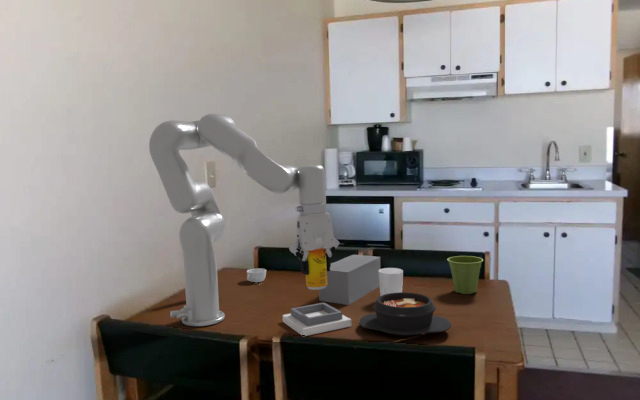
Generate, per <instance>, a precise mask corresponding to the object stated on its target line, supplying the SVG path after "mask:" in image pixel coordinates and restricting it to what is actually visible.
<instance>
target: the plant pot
mask: <svg viewBox="0 0 640 400" xmlns="http://www.w3.org/2000/svg"><path fill="white" fill-rule="evenodd" d="M446 260H447V262H448V264H449V265H448V266H449V268H450V271H451V277H452V284H453V289H454V292H455V293H460V294H462V295H472V294H474V293H477V291H478V285H479V277H480V272H481V271H480V270H481V268H482V264H483V262H484V259H483V258H482V257H479V256H473V255H458V256H457V255H456V256H450V257H448V258H447V259H446Z"/></svg>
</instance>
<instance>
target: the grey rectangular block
mask: <svg viewBox="0 0 640 400" xmlns="http://www.w3.org/2000/svg"><path fill="white" fill-rule="evenodd" d="M381 266H382V265H381V256H374V255H372V256H371V255H363V254H351V255H349V256H347V257H346V256H345V257H344V258H342V259H339V260H336V261H334V262H331V267H330V271H327V285H326V287H325V288H324V289H320V290H318V301H319V302H324V303H326V302H327V303H332V304H339V305H347V306H350V305H351V304H353V303H355V302H357V301H358V300H360V299H361V298H363V297H365V296H366V295H368V294H369V293H371V292H372V291H374V290H376V289H379V288H380V287H379V272H378V271H379V270H380V269H382V268H381Z"/></svg>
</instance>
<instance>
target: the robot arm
mask: <svg viewBox="0 0 640 400" xmlns="http://www.w3.org/2000/svg"><path fill="white" fill-rule="evenodd" d="M148 142H149V143H148V148H149V154H150V157H151V161H152V162H153V164H154V167H155V169H156V171H157V173H158V175H159V178H160V182H161V184H162V186H163V188H164V190H165V192H166V193H165V194H166V195H167V198H168V200H169V203H170V204H171V207H172V208H173V209H174V211H175V212H176V213H180V214H189V213H190V215H191V216H190V217H189V218H187V219H186V220H184V221H183V223H182V224H181V226H180V228H179V233H178V236H179V243H180V245H181V246H180V247H181V250H182V257H183V258H182V259H183V270H184V287H185V291H184V292H185V301H186V302H185V303H186V304H185V305H183V307H182V308H180V309H179V310H175V309H174V310H170V312H169V313H170V314H169V315H170V318H172V319H173V318H176V319H181V323H182V324H184V326H185V325H186V326H188V327H205V326H212V325H214V324H218V323H221V322H222V321H223V320H224V319H225V317H226V316H225V313H224V312H223V311H222V310H220V302H219V281H218V265H217V256H216V251H215V247H214V243H215V242H218V241H220V239H222V238H223V237H224V235H225V233H226V229H227V228H226V227H227V226H226V221H225V218H224V215H223V213H222V210H221V208H220V206H219V205H220V204H219V202H218V200H217V197H216V196H215V193H214V192H213V189H212V188H211V187H210V185H209V184H208V183H206V182H205V181H203V180H199V179H194V178H193V177H192V174H191V172H190V169H189V166H188V164H187V162H186V161H185V160H184V159H183V157H182V156H181V154H180V150H181V151H185V150H188V151H189V150H196V149H197V150H198V149H203V148H207V147H212V148H214V149H216V150H217V151H218V152H220V153H222V154H223V155H224V156H226V157H227V158H228V159H230V160H231V161H233V162H234V163H235V164H236V165H238V167H239V169H241V170H242V171H243V172H244V173H245V175H247V176H248V177H249V178H251V179H252V180H253V181H255V183H257V184H259V185H260V186H261V187H263V188H264V189H266V190H267V191H269V192H271V193H273V194H278V195H282V194H285V193H286V194H287V193H289V192H292V191H293V192H294V191H298V201H299V203H298V206H295V209H294V210H295V212H296V213H297V212H298V213H299V214H298V215H297V217H296V226H295V227H296V228H295V230H296V231H295V240H294V241H293V242H292V244H291V245H290V247H288V249H289V251H290V253H292V254H294V256H296V258H297V259H298V260H299V263H300V271H301V273H302V274H303V275H305V276H306V275H308V274H309V265H308V261H307V256H308V251H313V250H315V240H316V239H317V238H321V239H322V240H323V248H324V249H326V264H327V271H330V267H331V263H332V262H331V258H332V256H333V254H334V253H335V251H336V249H337V248H338V246H339V245H340V241H339V240H338V239H337V238H336V237H335V235H334V228H333V223H332V217H331V215H330V213H329V212H327V195H326V194H327V192H326V173H325V171H326V170H325V168H324V167H323V165H320V164H309V165H302V166H299V165H298V166H297V165H289V164H287V165H280V164H279V163H277V162H275V160H273V159H272V158H271V157H269V156H267V155H266V154H265V153H263V152H262V151H261V150H260V149H259V147H258V143H257V142H256V140H255V139H254V138H253V137H252V136H250V135H249V134H247V133H246V132H244V131H243V130H241V129H240V128H238V127H237V124H236V123H235V121H234V120H233V118H231V117H230V116H228V115H225V114H218V113H208V114H205V115H203V116H202V117H201V118H200V119H199V120H194V121H183V120H166V121H163V122H161V123H159V125H157V126H156V127H155V129H154V130H153V131H152V133H151V134H150V138H149V141H148ZM297 249H299V250H300V251H298V250H297Z"/></svg>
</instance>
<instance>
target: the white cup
mask: <svg viewBox="0 0 640 400" xmlns="http://www.w3.org/2000/svg"><path fill="white" fill-rule="evenodd" d="M378 272H379V287H378V288H379V293H380V294H379V295H380V296H382V295H385V294H390V293H400V292H403V282H404V279H403V278H404V270H403V269H401V268H398V267H384V268H381V269H380V270H379V271H378ZM380 296H379V297H380Z"/></svg>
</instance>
